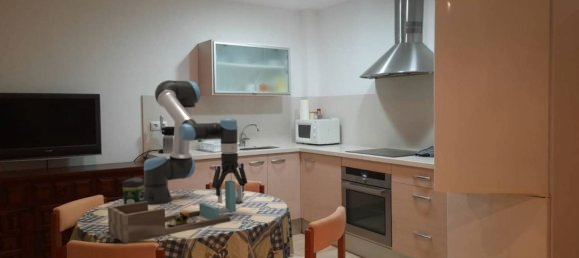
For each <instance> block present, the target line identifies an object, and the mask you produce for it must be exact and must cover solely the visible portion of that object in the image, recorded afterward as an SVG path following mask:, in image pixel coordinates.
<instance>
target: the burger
mask: <svg viewBox="0 0 579 258" xmlns="http://www.w3.org/2000/svg"><path fill="white" fill-rule="evenodd" d="M178 213H179V214H180V215H178ZM178 213H177V214H176V215H177V217H176V218H175V219H171V220H169V221H167V222H166V224H168V225H170V226H171V227H175V226H180V225H185V224H190V223H195V222H196V219H195V218H194V217H191V218H188V217H189V212H188V211H187V210H180V211H179V212H178Z"/></svg>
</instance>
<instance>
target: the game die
mask: <svg viewBox="0 0 579 258" xmlns="http://www.w3.org/2000/svg"><path fill="white" fill-rule="evenodd" d="M244 195H246V193H245V192H243V197H244ZM235 198H236V203H241V204H242V203H243V200H239V199H238V187H237V188H236V187H235Z"/></svg>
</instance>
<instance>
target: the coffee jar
mask: <svg viewBox="0 0 579 258" xmlns="http://www.w3.org/2000/svg"><path fill="white" fill-rule="evenodd" d="M144 188H145V185H144V179H143V178H142V177H135V176H133V177H132V178H129V179H125V180H123V181H122V192H123V205H124V204H131V203H138V202H144Z"/></svg>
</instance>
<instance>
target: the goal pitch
mask: <svg viewBox="0 0 579 258" xmlns="http://www.w3.org/2000/svg"><path fill="white" fill-rule="evenodd" d="M188 213H189V217H188V218H195V217H201V216H200V210H196V211H190V212H188ZM177 214H178V213H177ZM177 214H175V215H173V214H172V215H167V216H166V209H165V208H164V207H163V208H157V209H150V210H149V204H148V202H147V201H144V202H138V203H131V204H124V203H123V204H118V205H112V206H107V220H108V222H107V224H108V233H110V234H111V235H112V236H113V237H115V238H116V239H118V240H119V241H121V242H122V243H123V244H126V243H130V242H131V243H132V242H137V241H140V240H142V241H143V240H147V239H150V238H157V237H161V236H166V235H171V234H175V233H179V232H185V231H188V230H195V229H199V227H200V228H203V227H208V226H213V225H218V224H223V223H227V222H231V216H230V215H227V216H222V217H221V216H219V218H215V219H206V220H201V221H195V223H190V224H185V225H180V226H171V227H166V223H167V221H169V220H171V219H175V218H176V217H177ZM178 215H180V213H179V214H178Z"/></svg>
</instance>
